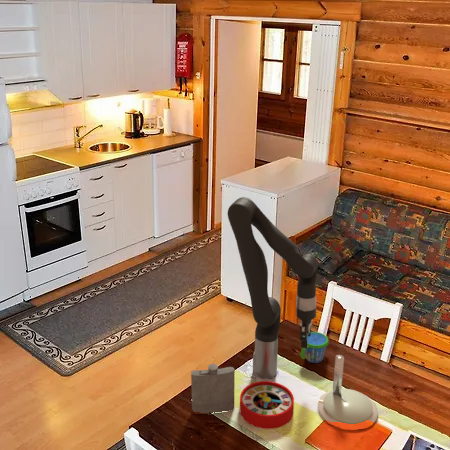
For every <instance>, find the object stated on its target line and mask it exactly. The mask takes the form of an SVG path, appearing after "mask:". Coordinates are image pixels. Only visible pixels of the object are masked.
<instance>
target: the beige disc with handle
mask: <svg viewBox="0 0 450 450" xmlns="http://www.w3.org/2000/svg"><path fill="white" fill-rule="evenodd" d="M334 359H335V361H334V371H333V380H332V381H333V383H332V390H333V391H331V390H330V391H331V392H329V391H328V392H329V393H328V394H327V395H326V396H325V397H324V402H323V407H324V410H325V412H326V413H327V414H328V415H329V416H330V417H331V418H333V419H335V420H337V421H339V422H342V423H347V424H357V423H361V422H365V421H366V420H368V419H369V418H370V417H371V415H372V410H373V406H372V403H371V401H370V400H369V399H368V398H367V397H368V396H367V395H366V394H364V393H362V392H360V391H357V390H354V389H350V388H342V385H343V375H344V364H345V356H344V355H342V354H336V355H335V357H334ZM365 395H366V396H367V397H366V396H365Z"/></svg>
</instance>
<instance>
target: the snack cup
mask: <svg viewBox="0 0 450 450" xmlns="http://www.w3.org/2000/svg"><path fill="white" fill-rule="evenodd" d="M303 337H305V336H303ZM329 344H330V340H329V336H327V335H326V334H324V333H321V332H318V331H311V336H310V337H309V336H308V339H307V348H302V347H301V351H300V354H299V357H300V358H301V359H302V360H305V359H306V361H307V362H308V363H312V364H319V363H321V362H322V361H324V360H323V359H324V358H325V353H326V349H327V347H328V346H329Z"/></svg>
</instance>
